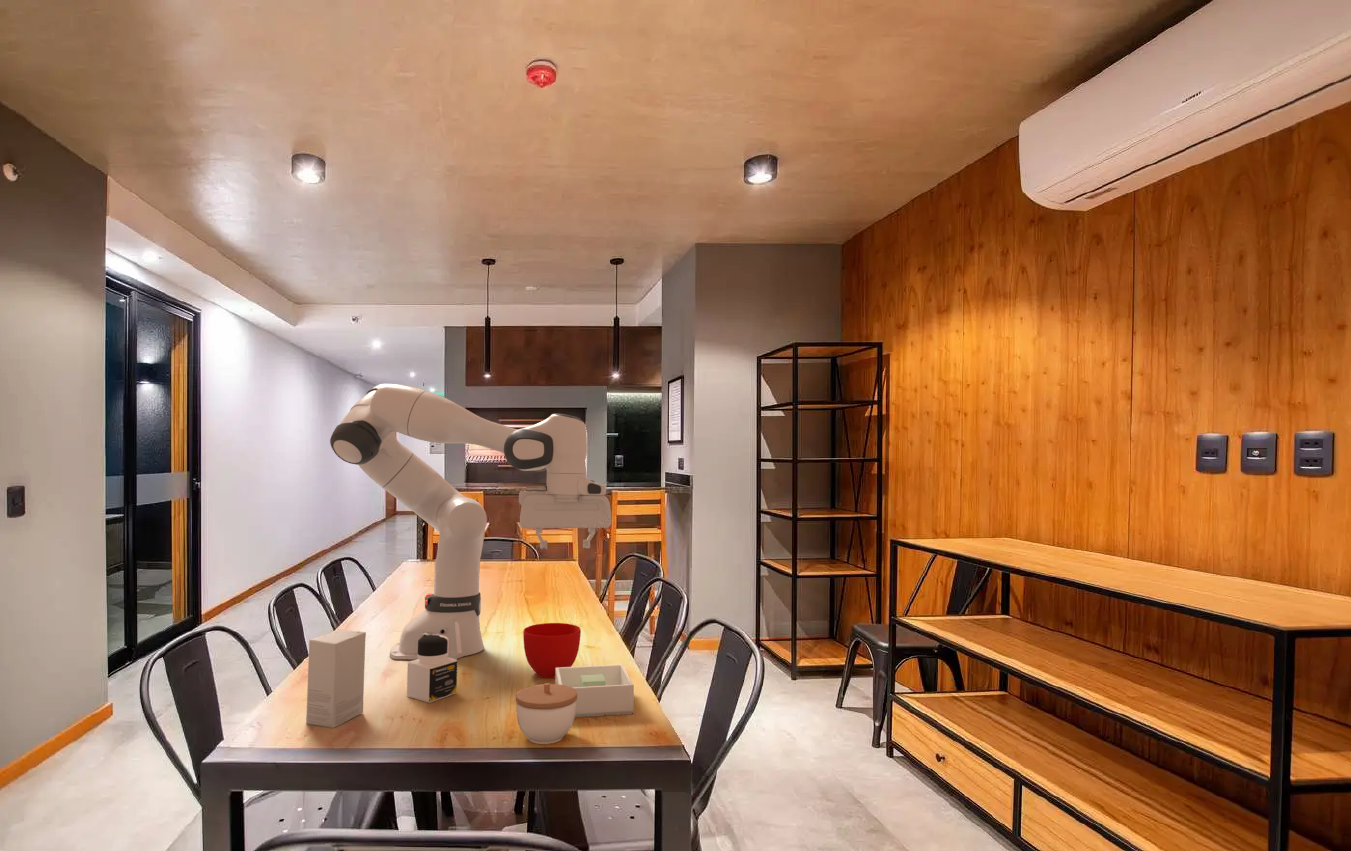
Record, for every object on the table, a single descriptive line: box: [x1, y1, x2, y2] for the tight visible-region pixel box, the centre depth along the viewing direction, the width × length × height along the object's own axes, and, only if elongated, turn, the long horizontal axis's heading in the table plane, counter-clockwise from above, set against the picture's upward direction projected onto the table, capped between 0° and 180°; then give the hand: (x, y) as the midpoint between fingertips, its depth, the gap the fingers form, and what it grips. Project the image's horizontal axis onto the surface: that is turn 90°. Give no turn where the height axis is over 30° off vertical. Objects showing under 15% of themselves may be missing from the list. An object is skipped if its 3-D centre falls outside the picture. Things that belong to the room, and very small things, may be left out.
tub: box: [554, 663, 635, 718], centre depth 146 cm, size 14×14×6 cm
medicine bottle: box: [406, 635, 458, 704], centre depth 150 cm, size 7×7×12 cm
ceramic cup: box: [522, 622, 582, 679], centre depth 168 cm, size 13×17×10 cm
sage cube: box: [580, 674, 606, 687], centre depth 146 cm, size 4×4×4 cm
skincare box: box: [305, 629, 367, 729], centre depth 136 cm, size 8×7×16 cm
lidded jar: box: [515, 682, 577, 745], centre depth 128 cm, size 11×11×9 cm
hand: (565, 548), depth 162 cm, fingers open, 8 cm apart
